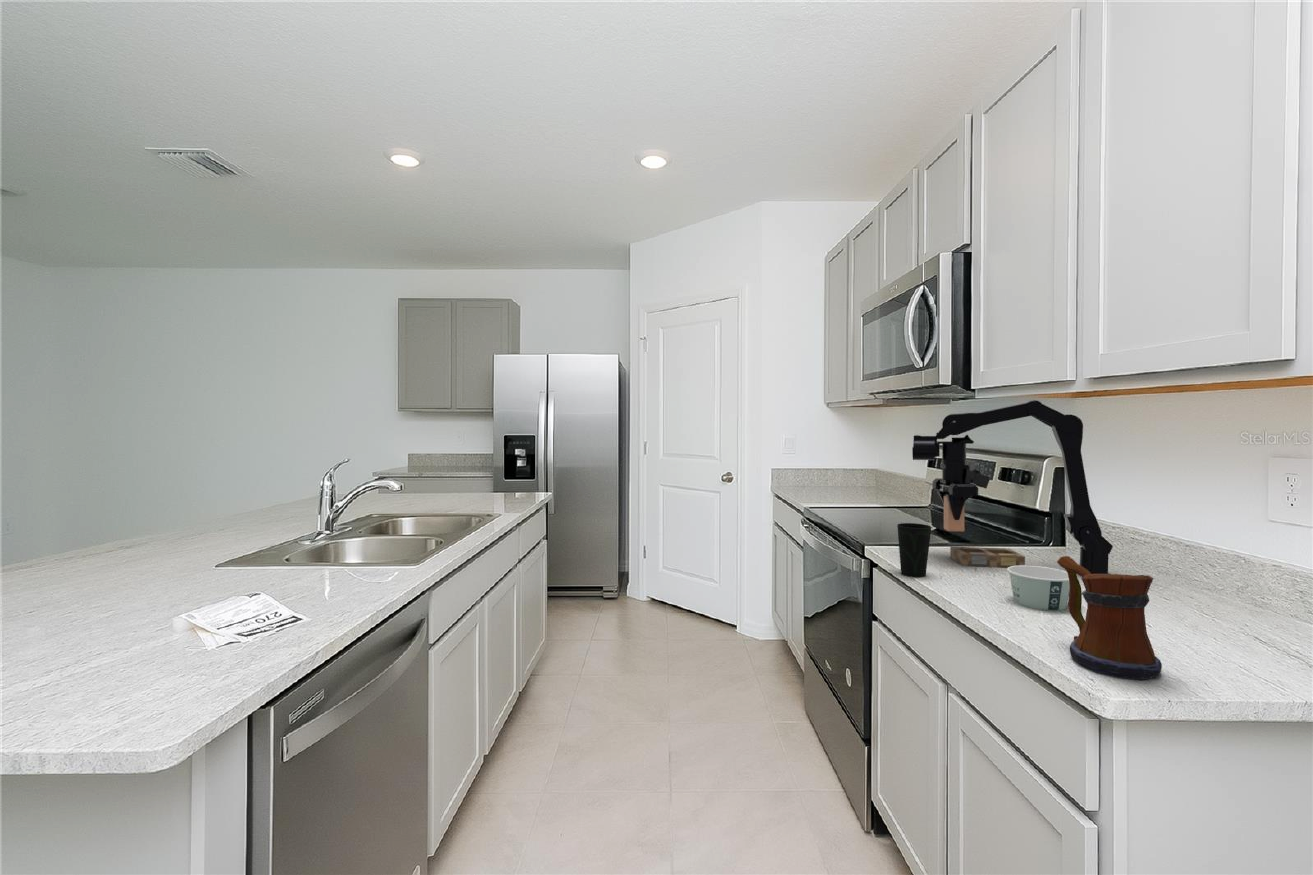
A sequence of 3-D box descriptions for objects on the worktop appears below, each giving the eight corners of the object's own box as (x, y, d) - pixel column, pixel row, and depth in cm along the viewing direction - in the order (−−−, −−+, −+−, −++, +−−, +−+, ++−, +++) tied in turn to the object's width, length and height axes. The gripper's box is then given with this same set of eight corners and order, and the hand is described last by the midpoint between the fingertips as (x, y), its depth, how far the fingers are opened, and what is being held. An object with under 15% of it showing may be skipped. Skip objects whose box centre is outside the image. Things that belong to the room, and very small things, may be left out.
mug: (1028, 637, 106) (1030, 551, 105) (1094, 637, 106) (1096, 552, 105) (1103, 681, 88) (1106, 578, 87) (1183, 682, 88) (1186, 579, 87)
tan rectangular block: (964, 531, 160) (964, 497, 160) (948, 531, 161) (948, 497, 161) (959, 528, 164) (959, 495, 164) (943, 528, 165) (943, 495, 165)
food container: (995, 594, 132) (996, 564, 132) (1054, 596, 131) (1055, 566, 131) (1023, 611, 120) (1024, 578, 120) (1088, 613, 119) (1088, 580, 119)
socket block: (1025, 568, 155) (1025, 556, 155) (962, 565, 158) (962, 553, 158) (1008, 559, 166) (1009, 547, 165) (950, 557, 168) (950, 545, 168)
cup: (889, 572, 151) (890, 524, 150) (912, 569, 154) (913, 522, 153) (913, 579, 144) (914, 529, 143) (937, 576, 147) (938, 527, 146)
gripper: (1000, 462, 152) (1000, 524, 152) (973, 458, 170) (973, 514, 171) (953, 462, 154) (953, 524, 154) (931, 458, 172) (931, 513, 172)
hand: (954, 518), depth 163 cm, fingers closed on tan rectangular block, 4 cm apart
